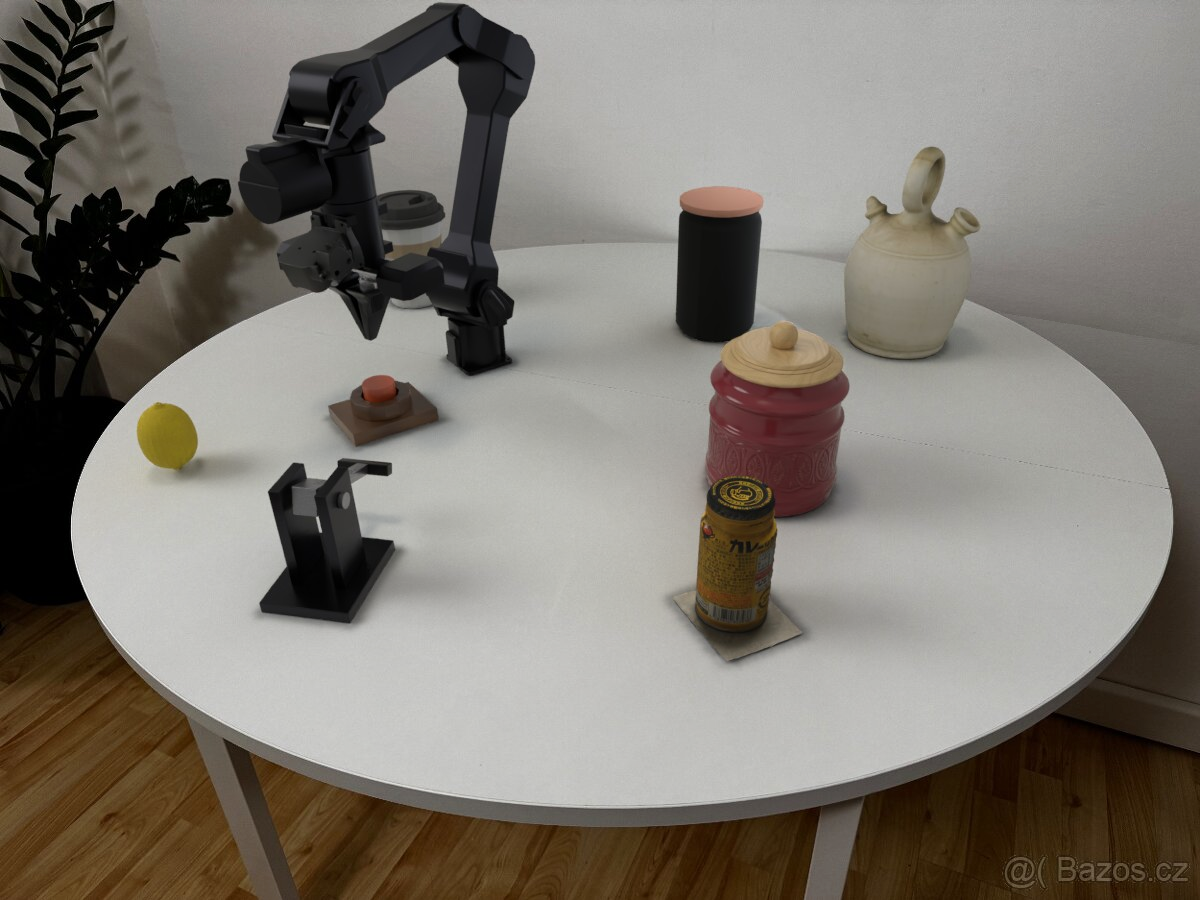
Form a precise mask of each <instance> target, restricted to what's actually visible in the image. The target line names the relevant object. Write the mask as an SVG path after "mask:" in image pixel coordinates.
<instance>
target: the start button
mask: <svg viewBox="0 0 1200 900" xmlns="http://www.w3.org/2000/svg"><path fill="white" fill-rule="evenodd" d="M394 380H395V379H394V378H393V377H392V376H390V375H387V374H380V375H379V374H377V375H373V376H369V377H367V378H365V379H364V380H363V381H362V382H361V385H362V388H363V394H364V399H365V400H366V401H369V402H384V401H387V400H390V399H392V398H394V397H395V396H396V387H395V381H396V380H395V381H394Z"/></svg>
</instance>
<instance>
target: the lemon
mask: <svg viewBox="0 0 1200 900" xmlns="http://www.w3.org/2000/svg"><path fill="white" fill-rule="evenodd" d="M136 425H137V426H136V439H137V443H138V446H139V448H140V450H141V452H142V454H143V455H144V457H145V458H146V459H147V460H148V461H149V462H150V463H151V464H153V465H154V466H157V467H159V468H162V469H169V470H170V469H172V470H174V471H179V470H181V469H182V468H183V467H184V466H185V465H186V464H189V462H190V461H192V459H193V458H194V456H195V455H196V452H197V450H198V444H199V436H198V432H197V429H196V426H195V423H194V422H193V420H192V419H191V417H190V415H189V414H188V413H187V412H186V411H185V410H184V409H183V408H182V407H180V406H178V405H176V404H172V403H167V402H160V401H156V402H154V403H153V404H152V405H151V406H149V407H148V408H146V409H145V410H144V411H143V412H142V413H141V415H140V416H139V417H138V420H137V424H136Z"/></svg>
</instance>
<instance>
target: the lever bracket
mask: <svg viewBox="0 0 1200 900" xmlns="http://www.w3.org/2000/svg"><path fill="white" fill-rule="evenodd" d="M306 471H307V470H306V468H305V464H304V463H302V462H292V463H291V464H290V466H288V468H287V469H286V470H285V471H284V472H283V474H282V475H280V477H279V478H278V479H277V480H276V481H275V482H274V484H273V485H272V486H271V487H270V488H269V489H268V490H267V494H268V495H267V496H268V499H269V502H270V507H271V510H272V514H273V518H274V521H275V526H276V530H277V533H278V537H279V541H280V546H281V549H282V552H283V557H284V560H285V564H286V566H285V568H284V569H283V570H282V571H281V573H280V575H278V577H277V578H276V580H275V581H274V582H273V584H271V586H270V588H269V589H268V590H267V591H266V593H265V594H264V596H263V597H262V598H261V599H260V601H259V608H260V611H261V613H265V614H273V615H280V616H287V617H288V616H289V617H297V618H304V619H312V620H319V621H328V622H335V623H343V624H351V623H352V621H353V619H354V618H355V616H356V614H357V613H358V611H359V609H360V608H361V607H362V605H363V603H364V601H365V600H366V598H367V596H368V595H369V593H370V592H371V591H372V588H373V586H374V585H375V584H376V582H377V580H378V579H379V577H380V575H381V573H382V572H383V570H384V569H385V567H386V565H387V564H388V562H389V560H391V557H392V556H393V554H394V553H395V550H396V547H395V541H394V540H393V539H383V538H377V537H376V538H375V537H368V536H367V537H365V536H362V531H361V525H360V522H359V521H360V520H359V516H358V510H357V506H356V501H355V496H354V491H353V486H352V484H351V480H350V475H349V470H348V468H345V467H338V466H336V468H335V469H334V471H333V472H332V473H331V474H330V475H329V477H328V478H327V479H326V480H327V481H326V482H325V483H324V484H323V486H322V487H321V488H320V489H319V491H318V492H317V493H316V494H315V496H314V499H315V503H316V508H317V512H318V519H317V517H312V516H303V515H294V514H293V507H292V486H294V485H296V484H298V483H300V482H302V481H304V480H306V479H308V477H307V472H306ZM318 520H319V524H318ZM319 525H320V529H321V531H320V529H319Z"/></svg>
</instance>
